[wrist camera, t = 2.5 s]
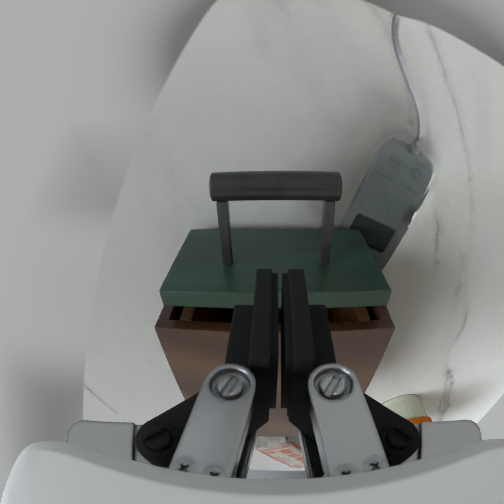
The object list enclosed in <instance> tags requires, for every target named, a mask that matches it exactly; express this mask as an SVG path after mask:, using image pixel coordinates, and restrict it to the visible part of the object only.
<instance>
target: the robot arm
mask: <svg viewBox="0 0 504 504" xmlns="http://www.w3.org/2000/svg"><path fill="white" fill-rule="evenodd" d="M278 358H279V328H278V273H272V269H257V271H256V282H255V293H254V304H253V305H235V306H234V311H233V316H232V322H231V328H230V334H229V340H228V346H227V352H226V358H225V364H224V365H220V366H218V367H216V368H214V369H212V370H211V371H210V372H209V373H208V374H207V376H206V378H205V379H204V382H203V384H202V387H201V389H200V391H199V392H198V393H196V394H195V395H193V396H191V397H190V398H188V399H186V400H185V401H183V402H181V403H180V404H178V405H176V406H174V407H173V408H171V409H169V410H168V411H166V412H164V413H162V414H160V415H159V416H157V417H155V418H153V419H151V420H150V421H148V422H146V423H145V424H144V425H135V424H134V423H124V422H101V421H88V420H82V421H78V422H76V423H74V424H73V425H72V426H71V427H70V429H69V431H68V435H67V442H58V441H43V442H37V443H34V444H31V445H29V446H28V447H26V448H25V449H24V450H23V451H22V452H21V454H20V455H19V457H18V458H17V460H16V462H15V464H14V466H13V468H12V471H11V473H10V475H9V478H8V481H7V483H6V487H5V489H4V492H3V496H2V499H1V503H0V504H504V439H488V440H483V441H482V440H481V432H480V429H479V427H478V425H477V424H476V423H475V422H473V421H471V420H457V421H439V422H421V423H420V424H413V423H411V422H410V421H409V420H407V419H405V418H404V417H402V416H400V415H399V414H397V413H395V412H394V411H392V410H390V409H389V408H387V407H385V406H384V405H382V404H381V403H379V402H377V401H376V400H374V399H373V398H371V397H369V396H368V395H366V394H365V393H363V391H362V389H361V386H360V383H359V381H358V378H357V377H356V375H355V373H354V372H353V371H352V370H351V369H349V368H348V367H346V366H344V365H341V364H336V358H335V352H334V347H333V341H332V336H331V330H330V325H329V320H328V315H327V310H326V306H325V305H309V302H308V295H307V288H306V281H305V275H304V269H288V273H282V302H281V408H287V416H289V422H290V423H292V424H293V425H294V426H295V427H297V428H298V436H299V441H300V446H301V451H302V456H303V461H304V466H305V471H306V476H307V479H287V480H286V479H285V480H266V479H264V480H262V479H246V477H247V473H248V469H249V466H250V462H251V458H252V454H253V450H254V446H255V442H256V438H257V434H258V429H259V428H261V427H262V426H263V425H264V424H266V423H267V422H268V421H269V408H276V397H277V379H278Z"/></svg>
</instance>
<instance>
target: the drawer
mask: <svg viewBox="0 0 504 504" xmlns="http://www.w3.org/2000/svg"><path fill="white" fill-rule="evenodd" d="M209 188H210V196H211V199H212V201H217V203H216V204H217V214H218V224H219V229H198V230H190V232H189V234H188V236H187V238H186V240H185V242H184V243H183V245H182V247H181V249H180V251H179V253H178V255H177V257H176V259H175V261H174V262H173V264H172V266H171V268H170V270H169V272H168V274H167V276H166V278H165V280H164V282H163V284H162V286H161V288H160V295H161V298H162V301H163V305H166V306H184V309H183V312H182V315H181V318H180V320H181V321H199V322H222V323H231V322H232V316H233V311H234V306H235V305H253V304H254V293H255V282H256V271H257V269H272V273H278V323H281V302H282V273H288V269H304V275H305V281H306V288H307V295H308V302H309V305H325V306H326V310H327V315H328V320H329V323H331V322H354V321H370V317H369V314H368V312H367V309H366V307H367V306H385V305H387V303H388V300H389V296H390V293H391V289H390V287H389V285H388V283H387V281H386V279H385V277H384V275H383V273H382V271H381V269H380V267H379V265H378V263H377V261H376V260H375V258H374V256H373V254H372V252H371V250H370V249H369V247H368V245H367V243H366V241H365V240H364V238H363V236H362V234H361V232H360V231H359V229H333V223H334V212H335V201H339V200H340V198H341V195H342V179H341V175H340V173H339V172H322V171H240V172H215V173H212V174H211V176H210V182H209ZM240 200H323V214H322V227H321V229H230V216H229V203H228V201H240Z"/></svg>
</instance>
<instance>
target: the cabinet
mask: <svg viewBox="0 0 504 504" xmlns="http://www.w3.org/2000/svg"><path fill="white" fill-rule="evenodd" d="M183 309H184V306H166V305H164V307H163V309H162V311H161V314H160V316H159V319H158V320H157V323H156V325H155V330H156V333H157V335H158V338H159V341H160V343H161V346H162V348H163V351H164V353H165V355H166V358H167V360H168V363H169V365H170V367H171V370H172V372H173V374H174V377H175V379H176V381H177V383H178V386H179V388H180V390H181V392H182V394H183V396H184V399H185V400H186V399H188V398H190V397H191V396H193V395H195V394H196V393H198V392H199V391H200V389H201V387H202V384H203V382H204V379H205V378H206V376H207V374H208V373H209V372H210V371H211V370H212V369H214V368H216V367H218V366H220V365H224V364H225V358H226V352H227V346H228V340H229V334H230V328H231V323H222V322H199V321H181V320H180V318H181V315H182V312H183ZM366 309H367V312H368V314H369V317H370V321H354V322H331V323H329V325H330V330H331V336H332V341H333V347H334V352H335V358H336V364H341V365H344V366H346V367H348V368H349V369H351V370H352V371H353V372H354V373H355V375H356V377H357V378H358V381H359V383H360V386H361V389H362V391H363V393H365V391H366V389H367V388H368V386H369V384H370V382H371V380H372V378H373V376H374V374H375V372H376V370H377V367H378V365H379V363H380V361H381V359H382V357H383V355H384V352H385V350H386V348H387V346H388V343H389V341H390V339H391V336H392V334H393V331H394V329H395V326H394V324H393V321H392V319H391V317H390V314H389V312H388V309H387V307H386V305H385V306H367V307H366ZM278 328H279V358H278V379H277V397H276V408H269V421H268V422H267V423H266V424H264V425H263V426H262V427H261V428H259V429H258V434H257V436H263V437H289V436H298V428H297V427H295V426H294V425H293V424H292V423H290V422H289V416H287V408H281V323H278Z"/></svg>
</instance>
